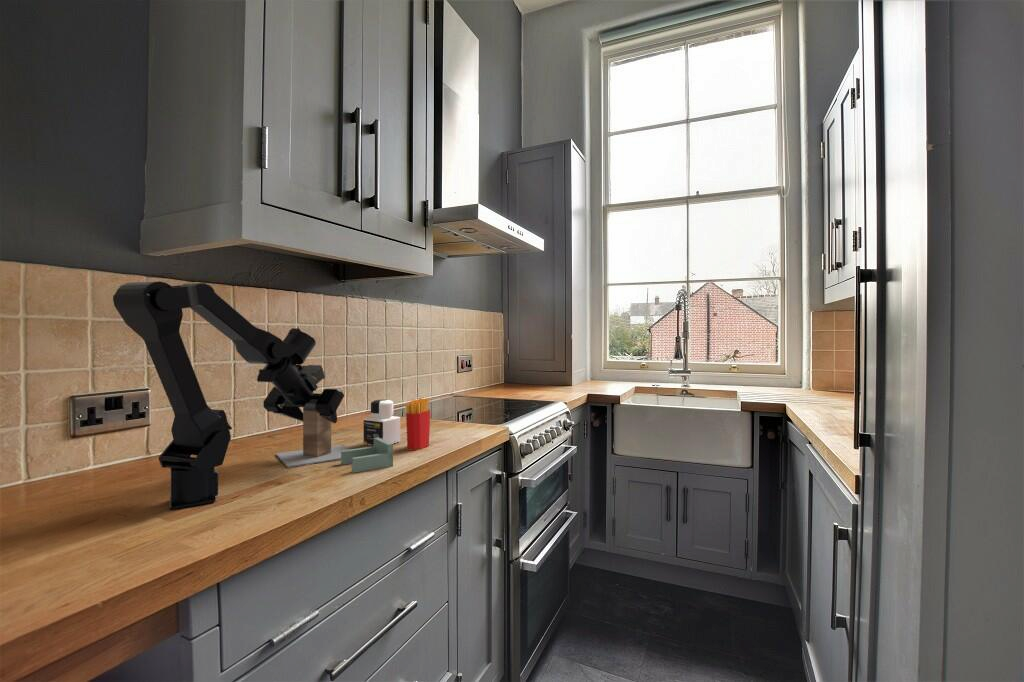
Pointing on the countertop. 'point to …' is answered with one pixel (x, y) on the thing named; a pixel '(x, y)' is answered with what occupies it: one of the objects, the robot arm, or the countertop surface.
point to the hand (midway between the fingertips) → (319, 420)
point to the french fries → (418, 424)
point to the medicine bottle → (382, 423)
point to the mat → (298, 459)
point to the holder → (369, 456)
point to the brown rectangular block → (315, 433)
